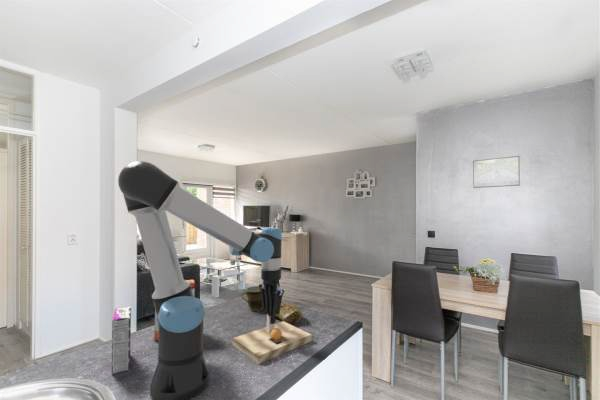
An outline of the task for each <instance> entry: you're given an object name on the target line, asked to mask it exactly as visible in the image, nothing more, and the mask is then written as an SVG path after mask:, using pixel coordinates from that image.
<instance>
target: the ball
mask: <svg viewBox="0 0 600 400" xmlns="http://www.w3.org/2000/svg"><path fill="white" fill-rule="evenodd" d="M281 336H282V332H281V330H280V329H279V328H275V329H273V330H272V332H271V337H272V338H273V339H274V340H279V339H280V338H281Z"/></svg>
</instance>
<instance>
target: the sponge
mask: <svg viewBox="0 0 600 400" xmlns="http://www.w3.org/2000/svg"><path fill="white" fill-rule="evenodd" d="M276 317H277V318H279V319H280V320H281V322H282V321H284V322H286V323H288V324H292V323H295V324H297V323H299V322H300V321H301V319H302V317H303V313H302V311H301V309H299V308H298V307H297V306H296V305H294V304H292V303H289V302H286V301H284V300H282V301H281V307H280V313H279V314H276V315H275V318H276Z"/></svg>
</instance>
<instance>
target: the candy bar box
mask: <svg viewBox="0 0 600 400" xmlns="http://www.w3.org/2000/svg"><path fill="white" fill-rule="evenodd" d="M111 320H112V323H111V324H112V328H111V329H112V331H111V336H112V337H111V339H112V340H111V375H116V374H119V373H123V372H124V373H125V372H127V371H130V369H131V345H132V344H131V338H132V337H131V336H132V333H131V332H132V331H131V330H132V329H131V328H132V323H131V322H132V306H125V307H118V308H114V312H113V316H112V319H111Z"/></svg>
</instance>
